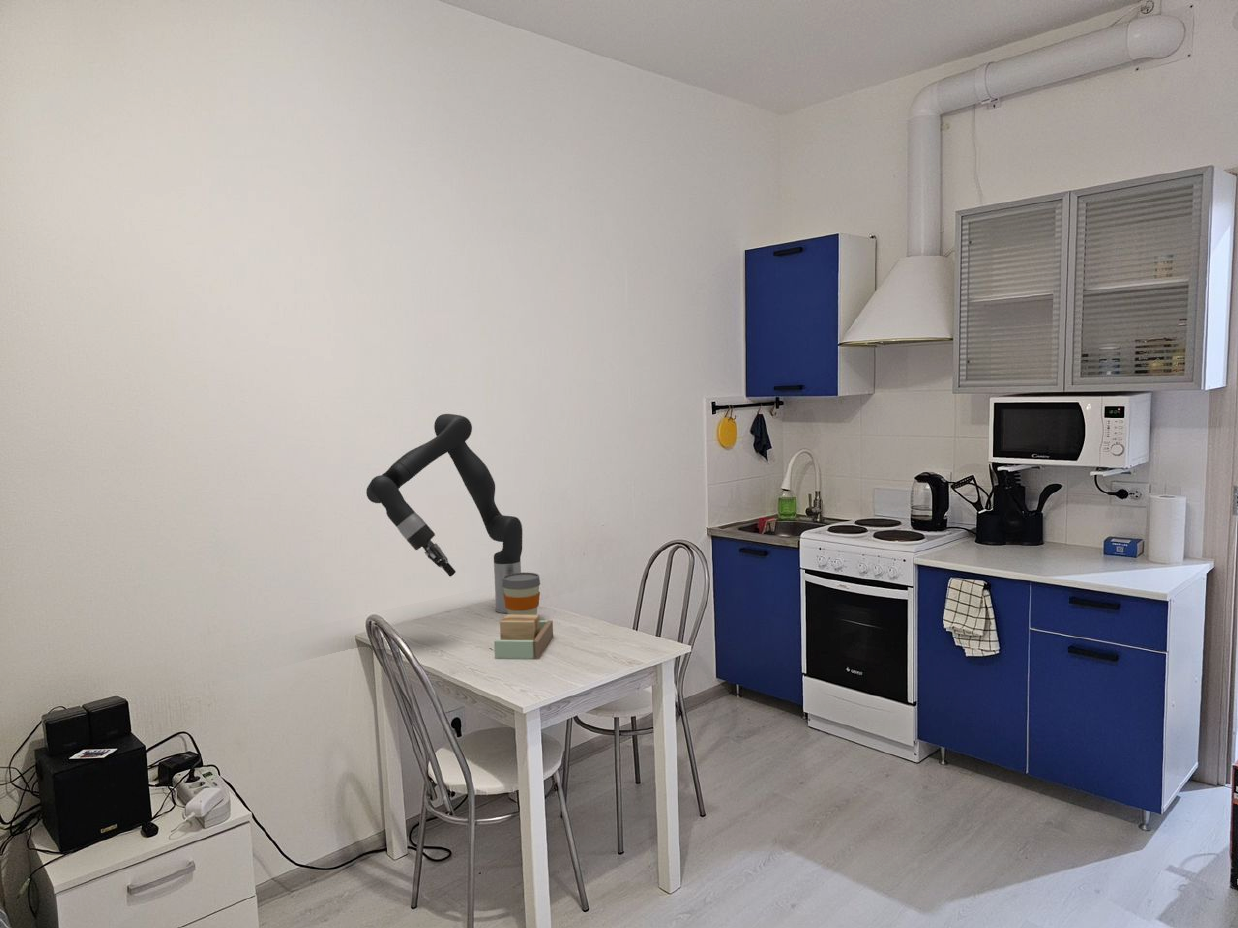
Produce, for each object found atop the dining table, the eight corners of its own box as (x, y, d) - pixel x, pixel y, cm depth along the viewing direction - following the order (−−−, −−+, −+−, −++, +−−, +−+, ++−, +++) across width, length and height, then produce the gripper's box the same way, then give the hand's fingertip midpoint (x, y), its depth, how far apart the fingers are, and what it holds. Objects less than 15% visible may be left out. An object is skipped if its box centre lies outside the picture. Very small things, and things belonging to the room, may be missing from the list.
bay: (513, 635, 255) (512, 620, 255) (553, 636, 253) (552, 620, 253) (494, 658, 234) (494, 641, 234) (538, 658, 233) (537, 641, 232)
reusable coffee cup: (501, 617, 276) (499, 574, 274) (538, 614, 279) (536, 571, 278) (506, 627, 264) (504, 582, 262) (544, 623, 267) (542, 579, 266)
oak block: (508, 643, 248) (506, 614, 247) (540, 643, 247) (539, 614, 246) (501, 651, 240) (499, 621, 239) (534, 652, 239) (533, 622, 238)
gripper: (422, 524, 240) (460, 569, 241) (428, 521, 253) (464, 563, 254) (402, 541, 239) (441, 585, 240) (409, 537, 252) (446, 579, 254)
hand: (453, 574), depth 247 cm, fingers closed
